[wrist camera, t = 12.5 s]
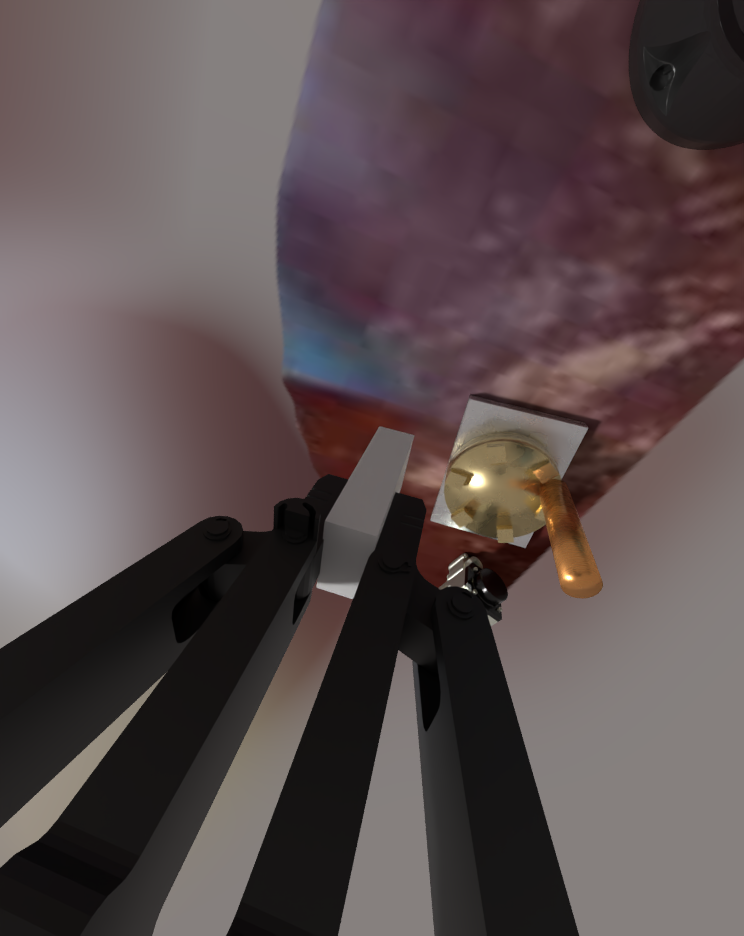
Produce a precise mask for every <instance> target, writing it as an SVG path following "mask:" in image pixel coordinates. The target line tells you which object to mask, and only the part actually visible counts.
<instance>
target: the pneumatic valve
mask: <svg viewBox="0 0 744 936" xmlns="http://www.w3.org/2000/svg"><path fill="white" fill-rule="evenodd" d="M448 569H449V575H448V576H447V582H446V583H444V584H443V585H442V586H441V587H439V588H438V589H440V590H441V589H443V588H445V587H448V586H458V587H461V588H465V589H467V590H469V591H470V592H472V593H474V594H475V595H476V596H477V597H478V598H479V599H480V600H481V601H482V603H483V605H484V607H485V609H486V611H487V615H488V618H489V622H490V625H491V626H492V625H493V624H495V623H497V622H498V621H500V620H501V619H502V614H501V611H502V608H501V603H502V602H503V601H505V600H506V599H507V596H508V592H507V588H506V586H505V584H504V582H503V581H502V579H501V578H500V577H499V576H498V575H497V574H496V573H495V572H494V571H492V570H490V569H487V568H484V569H483V566H482V563H481V561H480V560H479V559H478V558H476V557H474V556H472V557H471V558H469V557H468V554H467V553H466V554H465V553H463V554H462V555H461V556H459V557H458V558H457V559H456V560H454V561H453V562H452V563H451V564H449V567H448Z"/></svg>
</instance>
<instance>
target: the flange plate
mask: <svg viewBox="0 0 744 936" xmlns="http://www.w3.org/2000/svg"><path fill="white" fill-rule="evenodd" d="M587 430H588V427H587V425H586V423H584V422H580V421H576V420H572V419H568V418H564V417H560V416H555V415H551V414H547V413H543V412H539V411H535V410H531V409H527V408H523V407H518V406H514V405H510V404H506V403H502V402H498V401H494V400H490V399H485V398H481V397H477V396H473V395H469V399H468V402H467V405H466V408H465V411H464V414H463V417H462V421H461V424H460V427H459V430H458V433H457V436H456V439H455V442H454V446H453V449H452V452H451V455H450V458H449V461H448V464H447V468H448V465H449V462H450V461H451V459H452V457H453V456H454V454H455V453H456V452H457V451H458V450H459V449H460V448H461V447H462V446H463V445H464V444H466V443H467V442H469V441H470V440H472V439H474V438H476V437H479V436H481V435H485V434H489V433H494V432H511V433H517V434H521V435H524V436H527V437H529V438H532V439H534V440H535V441H537V442H539V443H540V444H541V445H543V446H544V447H545V448H546V449H547V450H548V451H549V452H550V454H551V455H552V457H553V458H554V461H555V463H556V465H557V468H558V471H559V474H560V477H561V479H562V477H563V476H564V474H565V472H566V470H567V468H568V466H569V464H570V462H571V460H572V458H573V456H574V455H575V453H576V451H577V449H578V447H579V445H580V443H581V441H582V439H583V437H584V435H585V434H586V432H587ZM447 468H446V471H445V474H444V477H443V480H442V483H441V486H440V489H439V493H438V496H437V499H436V502H435V505H434V508H433V511H432V515H431V520H430V521H433V522H437V523H440V524H444V525H447V526H451V527H454V528H458V529H461V530H465V531H468V532H471V533H475V532H473V531H471V530H469V529H467V528H466V527H464V526H463V527H461V528H459V527H458V525H457V524H456V523H455V522H454V521H453V520H452V519H451V512H450V511H449V509H448V507H447V504H446V501H445V497H444V485H445V484H444V483H445V478H446V472H447ZM533 533H534V532H532V533H529V534H527V535H524V536H520V537H514V538H513V539H514V542H510V544H513V545H516V546H520V547H523V548H526V546H527V544H528V542H529V541H530V539H531V537H532V535H533ZM475 534H477V533H475ZM478 535H480V534H478ZM482 536H483V535H482ZM485 537H487V536H485ZM489 538H492V537H489ZM492 539H496V540H498V538H492Z"/></svg>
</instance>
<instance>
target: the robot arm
mask: <svg viewBox="0 0 744 936" xmlns="http://www.w3.org/2000/svg"><path fill="white" fill-rule="evenodd" d="M629 77H630V85H631V90H632V94H633V98H634V101H635V104H636V106H637V109H638V111H639V113H640V115H641V116H642V118H643V120H644V121H645V122H646V124H647V125H648V126H649V127H650V128H651V130H652V131H654V132H655V133H656V134H657V135H658V136H660V137H661V138H662V139H664V140H666V141H668V142H670V143H672V144H674V145H677V146H680V147H684V148H689V149H697V150H709V149H719V148H725V147H729V146H734V145H737V144H740V143H743V142H744V0H640V2H639V5H638V9H637V12H636V16H635V20H634V24H633V29H632V34H631V40H630V49H629ZM413 438H414V435H410V434H407V433H403V432H399V431H395V430H391V429H388V428H384V427H380V426H379V428H378V430H377V432H376V433H375V435H374V437H373V439H372V440H371V442H370V444H369V445H368V447H367V449H366V451H365V452H364V454H363V456H362V458H361V459H360V461H359V463H358V464H357V466H356V468H355V470H354V471H353V473H352V475H351V477H350V478H349V480H347V479H344V478H340V477H337V476H333V475H330V474H328V475H326V476H324V477H322V478H320V479H319V480H318V481H317V482H316V483H315V485H314V486H313V488H312V490H310V492H309V493H308V495H307V497H306V498H305V499H300V498H290V499H286V500H283V501H280V502H279V503H278V504H276V505H275V506H274V529H273V530H272V531H267V532H251V531H243V528H242V525H241V523H240V522H238V521H237V520H236V519H234V518H231V517H228V516H215V517H210V518H207V519H205V520H203V521H200V522H199V523H197V524H196V525H194V526H193V527H191V528H189V529H188V530H186V531H185V532H183V533H182V534H180V535H178V536H177V537H175V538H174V539H172V540H171V541H169V542H167V543H166V544H165V545H163V546H161V547H160V548H158V549H156V550H155V551H153V552H152V553H150V554H148V555H147V556H145V557H144V558H142V559H141V560H139V561H138V562H136V563H134V564H133V565H131V566H130V567H128V568H126V569H125V570H123V571H122V572H120V573H119V574H117V575H115V576H114V577H112V578H111V579H109V580H108V581H106V582H104V583H103V584H101V585H100V586H98V587H97V588H95V589H93V590H92V591H90V592H89V593H87V594H86V595H84V596H82V597H81V598H79V599H78V600H76V601H75V602H73V603H71V604H70V605H68V606H67V607H65V608H64V609H62V610H60V611H59V612H57V613H56V614H54V615H53V616H51V617H49V618H48V619H46V620H45V621H43V622H41V623H40V624H38V625H37V626H35V627H34V628H32V629H30V630H29V631H27V632H26V633H24V634H23V635H21V636H19V637H18V638H16V639H15V640H13V641H12V642H10V643H8V644H7V645H5V646H4V647H2V648H1V649H0V828H1V827H2V826H3V825H4V824H5V823H6V822H7V821H8V820H9V819H10V818H11V817H12V816H13V815H15V814H16V813H17V812H18V811H19V810H20V809H21V808H22V807H23V806H24V805H25V804H26V803H27V802H28V801H29V800H31V799H32V798H33V797H34V796H35V795H36V794H37V793H38V792H39V791H40V790H41V789H42V788H43V787H44V786H45V785H46V784H48V783H49V782H50V781H51V780H52V779H53V778H54V777H55V776H56V775H57V774H58V773H59V772H60V771H61V770H62V769H64V768H65V767H66V766H67V765H68V764H69V763H70V762H71V761H72V760H73V759H74V758H75V757H76V756H77V755H78V754H80V753H81V752H82V751H83V750H84V749H85V748H86V747H87V746H88V745H89V744H90V743H91V742H92V741H93V740H94V739H95V738H97V737H98V736H99V735H100V734H101V733H102V732H103V731H104V730H105V729H106V728H107V727H108V726H109V725H111V724H112V723H113V722H114V721H115V720H116V719H117V718H118V717H119V716H120V715H121V714H122V713H123V712H124V711H125V710H126V709H127V708H129V707H130V706H131V705H132V704H133V703H134V702H135V701H136V700H137V699H138V698H139V697H140V696H141V695H142V694H144V693H145V692H146V691H147V690H148V689H149V688H150V687H151V686H152V685H153V684H154V683H155V682H156V681H157V680H158V679H160V678H161V677H162V676H163V675H164V674H165V673H166V672H167V673H166V674H165V675H164V677H163V678H162V680H161V681H160V682H159V684H158V685H157V686H156V688H155V689H154V690H153V692H152V693H151V694H150V696H149V697H148V698H147V700H146V701H145V702H144V704H143V705H142V706H141V708H140V709H139V711H138V712H137V713H136V715H135V716H134V717H133V719H132V720H131V721H130V723H129V724H128V725H127V727H126V728H125V729H124V731H123V732H122V733H121V735H120V736H119V737H118V739H117V740H116V741H115V743H114V744H113V746H112V747H111V748H110V750H109V751H108V752H107V754H106V755H105V756H104V758H103V759H102V760H101V762H100V763H99V765H98V766H97V767H96V769H95V770H94V771H93V772H92V774H91V775H90V777H89V778H88V779H87V781H86V782H85V783H84V785H83V786H82V788H81V789H80V790H79V791H78V793H77V794H76V795H75V797H74V798H73V799H72V801H71V802H70V804H69V805H68V806H67V807H66V809H65V810H64V812H63V813H62V814H61V816H60V817H59V818H58V820H57V821H56V822H55V823H54V824H53V826H52V827H51V828H50V829H49V831H48V832H47V833H46V834H44V835H43V836H42V837H41V838H40V839H39V840H38V841H36V842H35V843H33V844H31V845H30V846H28V847H27V848H25V849H23V850H21V851H20V852H18V853H16V854H15V855H14V856H13V857H12V858H10V859H9V860H8V861H7V862H6V863H5V864H4V865H3V866H2V867H1V868H0V936H152V934H153V931H154V927H155V924H156V921H157V918H158V916H159V913H160V911H161V909H162V906H163V904H164V902H165V900H166V898H167V896H168V893H169V892H170V890H171V887H172V885H173V883H174V881H175V879H176V877H177V875H178V873H179V871H180V869H181V867H182V865H183V863H184V861H185V859H186V857H187V854H188V852H189V850H190V848H191V846H192V844H193V842H194V840H195V838H196V836H197V834H198V832H199V830H200V828H201V825H202V823H203V821H204V819H205V817H206V815H207V813H208V811H209V809H210V807H211V805H212V803H213V801H214V799H215V797H216V795H217V792H218V790H219V788H220V786H221V784H222V782H223V780H224V778H225V776H226V774H227V772H228V770H229V768H230V766H231V764H232V761H233V759H234V757H235V755H236V753H237V751H238V749H239V747H240V745H241V743H242V741H243V739H244V736H245V735H246V733H247V731H248V728H249V726H250V724H251V722H252V720H253V718H254V716H255V714H256V712H257V710H258V708H259V706H260V704H261V701H262V699H263V697H264V695H265V693H266V691H267V689H268V687H269V685H270V683H271V681H272V679H273V677H274V675H275V673H276V671H277V669H278V667H279V664H280V662H281V660H282V658H283V656H284V654H285V652H286V650H287V648H288V646H289V644H290V642H291V640H292V638H293V636H294V633H295V631H296V629H297V627H298V625H299V623H300V621H301V619H302V617H303V615H304V613H305V611H306V609H307V607H308V605H309V602H310V599H311V593H312V588H313V586H314V584H315V582H316V580H317V578H318V580H317V588H320V589H323V590H326V591H329V592H333V593H336V594H338V595H342V596H345V597H348V598H351V599H353V601H352V603H351V607H350V609H349V612H348V614H347V617H346V620H345V622H344V625H343V628H342V631H341V633H340V636H339V639H338V641H337V644H336V647H335V649H334V652H333V655H332V657H331V660H330V663H329V665H328V668H327V671H326V673H325V676H324V679H323V681H322V684H321V687H320V690H319V692H318V695H317V698H316V700H315V703H314V706H313V708H312V711H311V714H310V716H309V719H308V722H307V725H306V727H305V730H304V733H303V735H302V738H301V741H300V744H299V746H298V749H297V751H296V754H295V757H294V759H293V762H292V765H291V768H290V770H289V773H288V776H287V779H286V781H285V784H284V786H283V789H282V792H281V795H280V797H279V800H278V803H277V805H276V808H275V811H274V813H273V816H272V819H271V822H270V824H269V827H268V829H267V832H266V835H265V838H264V840H263V843H262V846H261V848H260V851H259V854H258V856H257V859H256V862H255V864H254V867H253V870H252V872H251V875H250V878H249V881H248V883H247V886H246V889H245V892H244V894H243V897H242V899H241V902H240V905H239V907H238V910H237V912H236V915H235V917H234V920H233V922H232V925H231V927H230V929H229V931H228V933H227V935H226V936H338V932H339V927H340V923H341V918H342V913H343V909H344V904H345V899H346V894H347V890H348V885H349V880H350V875H351V871H352V866H353V861H354V856H355V851H356V847H357V842H358V837H359V833H360V828H361V823H362V819H363V814H364V809H365V804H366V800H367V795H368V790H369V785H370V781H371V776H372V771H373V766H374V762H375V757H376V752H377V748H378V743H379V738H380V733H381V729H382V723H383V719H384V714H385V710H386V704H387V700H388V696H389V691H390V686H391V681H392V676H393V672H394V667H395V662H396V658H397V653H398V650H399V651H401V652H402V653H403V654H405V655H406V656H407V657H409V658H411V659H412V660H413V674H414V687H415V699H416V711H417V724H418V736H419V749H420V761H421V773H422V786H423V798H424V809H425V823H426V835H427V848H428V859H429V872H430V884H431V897H432V909H433V922H434V934H435V936H579V933H578V930H577V926H576V923H575V919H574V916H573V913H572V909H571V905H570V902H569V898H568V895H567V891H566V888H565V884H564V881H563V877H562V874H561V870H560V867H559V863H558V860H557V857H556V853H555V850H554V846H553V842H552V839H551V835H550V832H549V829H548V825H547V821H546V818H545V815H544V811H543V807H542V804H541V800H540V797H539V793H538V790H537V786H536V783H535V779H534V776H533V772H532V769H531V765H530V762H529V759H528V755H527V751H526V748H525V745H524V741H523V737H522V734H521V730H520V727H519V723H518V720H517V716H516V713H515V709H514V706H513V702H512V699H511V695H510V692H509V688H508V685H507V681H506V678H505V674H504V671H503V667H502V664H501V660H500V657H499V653H498V650H497V646H496V643H495V640H494V636H493V633H492V629H491V625H490V622H489V618H488V615H487V611H486V609H485V607H484V605H483V603H482V601H481V600H480V599H479V598H478V597H477V596H476V595H475V594H474V593H472V592H470V591H469V590H467V589H465V588H461V587H458V586H448V587H445V588H443V589H441V590H440V589H438V588H437V587H435V586H434V585H432V584H431V583H429V582H428V581H427V580H425V579H424V578H423V576H422V575H421V574H420V572H419V571H418V569H417V565H416V557H417V552H418V547H419V542H420V538H421V533H422V528H423V524H424V519H425V514H426V508H425V505H424V502H423V500H422V499H418V498H415V497H411V496H407V495H404V494H400V493H399V492H400V489H401V486H402V482H403V478H404V474H405V470H406V466H407V462H408V458H409V454H410V450H411V446H412V442H413Z"/></svg>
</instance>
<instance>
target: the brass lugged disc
mask: <svg viewBox="0 0 744 936" xmlns="http://www.w3.org/2000/svg"><path fill="white" fill-rule="evenodd" d="M444 484H445V485H444V497H445V501H446V504H447V507H448V509H449V511H450V512H451V519H452V520H453V521H454V522H455V523H456V524H457V525H458V527H459V528H461V527H463V526H464V527H466V528H467V529H469V530H471V531H473V532H475V533H477V534H480V535H483V536H487V537H492V538H498V543H510V542H514V539H513V538H514V537H520V536H524V535H527V534H529V533H532V532H534V531H536V530H538V529H540V528H541V527H543V526H544V525H546V526H547V530H548V534H549V539H550V543H551V547H552V551H553V555H554V559H555V564H556V568H557V572H558V576H559V580H560V585H561V588H562V590H563V591H564V592H565V593H566V594H567V595H569V596H571V597H575V598H589V597H592V596H594V595H596V594H598V593H599V592H600V591H601V589H602V587H603V583H602V579H601V577H600V574H599V571H598V568H597V566H596V563H595V560H594V557H593V555H592V552H591V549H590V547H589V544H588V541H587V538H586V535H585V533H584V530H583V527H582V525H581V522H580V519H579V516H578V514H577V511H576V508H575V505H574V503H573V500H572V497H571V494H570V492H569V489H568V486H567V485H566V483H565V482H563V481H562V480H561V477H560V474H559V471H558V468H557V465H556V463H555V461H554V458H553V457H552V455H551V454H550V452H549V451H548V450H547V449H546V448H545V447H544V446H543V445H541V444H540V443H539V442H537V441H535V440H534V439H532V438H529V437H527V436H524V435H521V434H517V433H511V432H494V433H489V434H485V435H481V436H479V437H476V438H474V439H472V440H470V441H469V442H467V443H466V444H464V445H463V446H462V447H461V448H460V449H459V450H458V451H457V452H456V453H455V454H454V456H453V457H452V459H451V461H450V462H449V465H448V468H447V472H446V478H445V483H444Z"/></svg>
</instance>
